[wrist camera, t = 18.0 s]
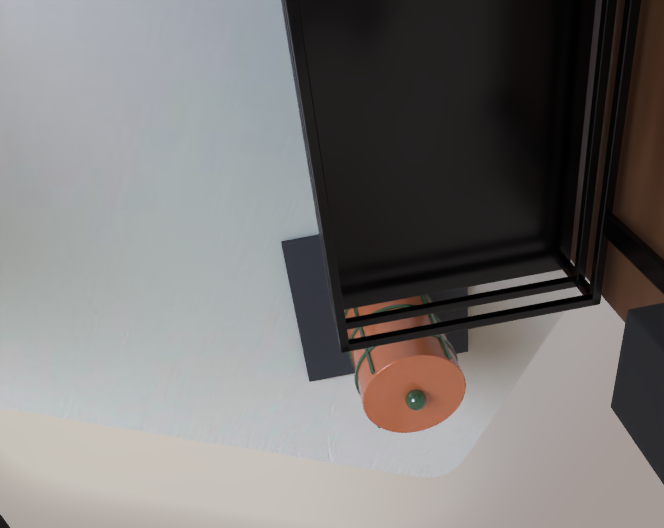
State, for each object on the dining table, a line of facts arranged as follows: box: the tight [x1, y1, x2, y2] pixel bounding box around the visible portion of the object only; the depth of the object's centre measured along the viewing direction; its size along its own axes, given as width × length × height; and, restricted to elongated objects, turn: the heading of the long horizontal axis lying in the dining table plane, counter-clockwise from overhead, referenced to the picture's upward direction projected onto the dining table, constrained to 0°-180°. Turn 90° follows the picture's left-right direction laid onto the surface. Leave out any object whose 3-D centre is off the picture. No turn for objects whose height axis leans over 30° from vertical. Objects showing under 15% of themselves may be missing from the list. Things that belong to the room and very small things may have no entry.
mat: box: [281, 235, 468, 381], centre depth 43 cm, size 12×12×1 cm
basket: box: [281, 0, 664, 353], centre depth 20 cm, size 14×20×13 cm
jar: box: [344, 294, 466, 433], centre depth 39 cm, size 6×6×10 cm
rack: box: [570, 0, 664, 323], centre depth 24 cm, size 10×21×23 cm, turn 7°
